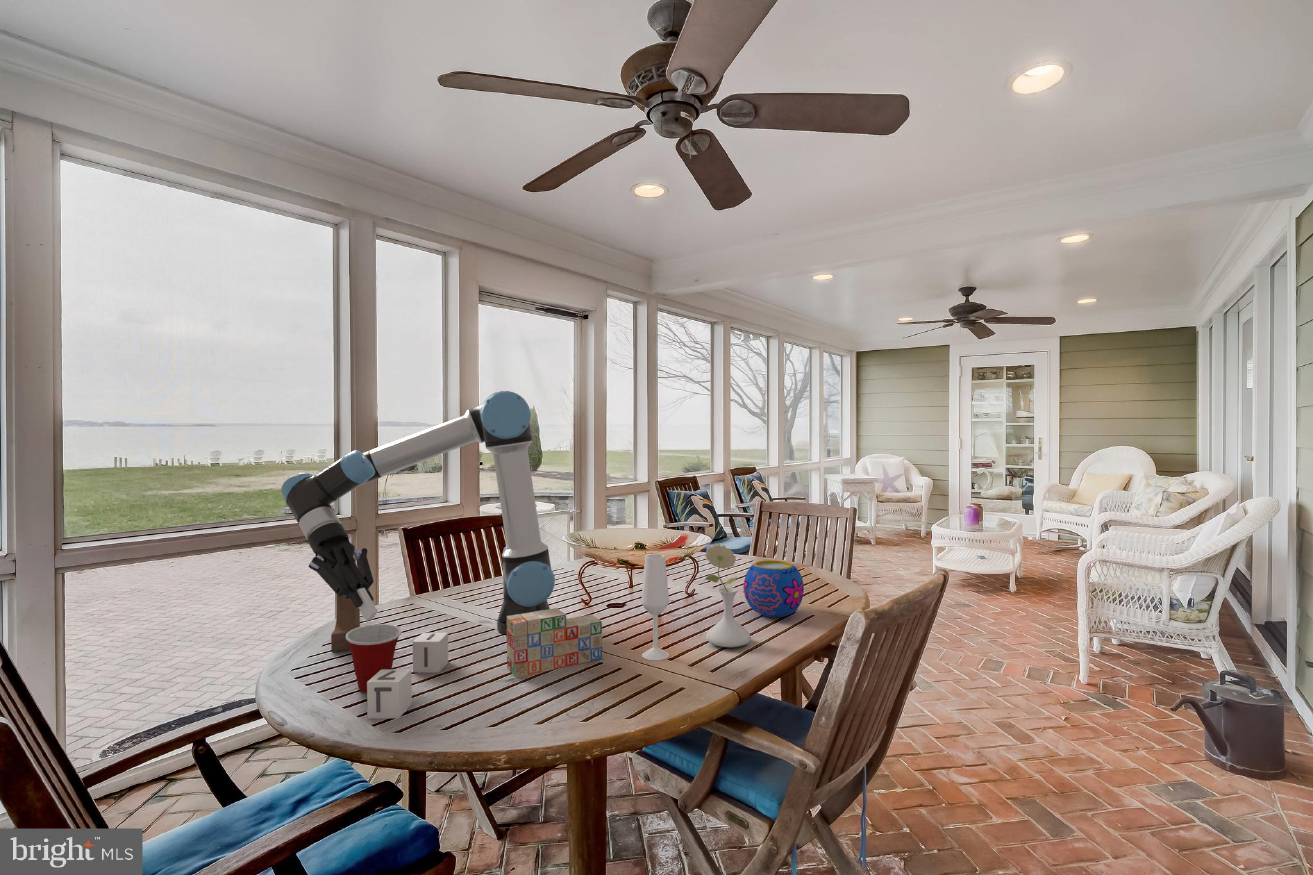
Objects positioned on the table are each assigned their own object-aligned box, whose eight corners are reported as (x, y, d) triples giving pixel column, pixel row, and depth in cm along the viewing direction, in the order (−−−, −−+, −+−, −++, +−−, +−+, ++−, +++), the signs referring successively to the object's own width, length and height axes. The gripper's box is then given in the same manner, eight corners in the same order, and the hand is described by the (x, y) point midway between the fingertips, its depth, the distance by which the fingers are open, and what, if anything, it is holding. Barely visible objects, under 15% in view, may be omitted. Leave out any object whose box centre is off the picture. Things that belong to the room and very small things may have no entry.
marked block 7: (411, 704, 121) (411, 668, 121) (398, 718, 115) (398, 681, 115) (381, 704, 121) (381, 668, 121) (367, 719, 115) (366, 681, 115)
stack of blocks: (592, 651, 150) (592, 601, 150) (602, 659, 144) (602, 608, 144) (506, 668, 139) (506, 615, 139) (514, 678, 134) (513, 622, 134)
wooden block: (350, 650, 151) (349, 578, 151) (330, 652, 150) (330, 579, 150) (360, 638, 160) (359, 570, 160) (341, 639, 159) (341, 571, 159)
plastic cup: (365, 703, 122) (365, 643, 121) (335, 691, 127) (334, 634, 127) (412, 683, 131) (412, 628, 131) (382, 673, 136) (381, 620, 136)
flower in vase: (759, 643, 155) (759, 545, 154) (733, 655, 146) (733, 551, 146) (718, 631, 163) (718, 539, 163) (691, 642, 155) (691, 545, 155)
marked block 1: (448, 662, 143) (448, 632, 143) (439, 672, 137) (439, 641, 137) (422, 662, 143) (422, 632, 143) (412, 672, 137) (412, 641, 137)
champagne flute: (655, 648, 151) (655, 552, 151) (675, 654, 147) (674, 556, 146) (636, 655, 147) (635, 556, 146) (655, 662, 142) (654, 560, 142)
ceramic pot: (812, 611, 181) (811, 561, 181) (793, 628, 166) (792, 573, 166) (757, 603, 190) (756, 555, 190) (734, 618, 175) (733, 566, 175)
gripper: (344, 538, 144) (390, 618, 136) (288, 547, 133) (335, 635, 125) (358, 517, 141) (406, 598, 133) (302, 525, 130) (351, 613, 122)
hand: (372, 616), depth 129 cm, fingers closed
